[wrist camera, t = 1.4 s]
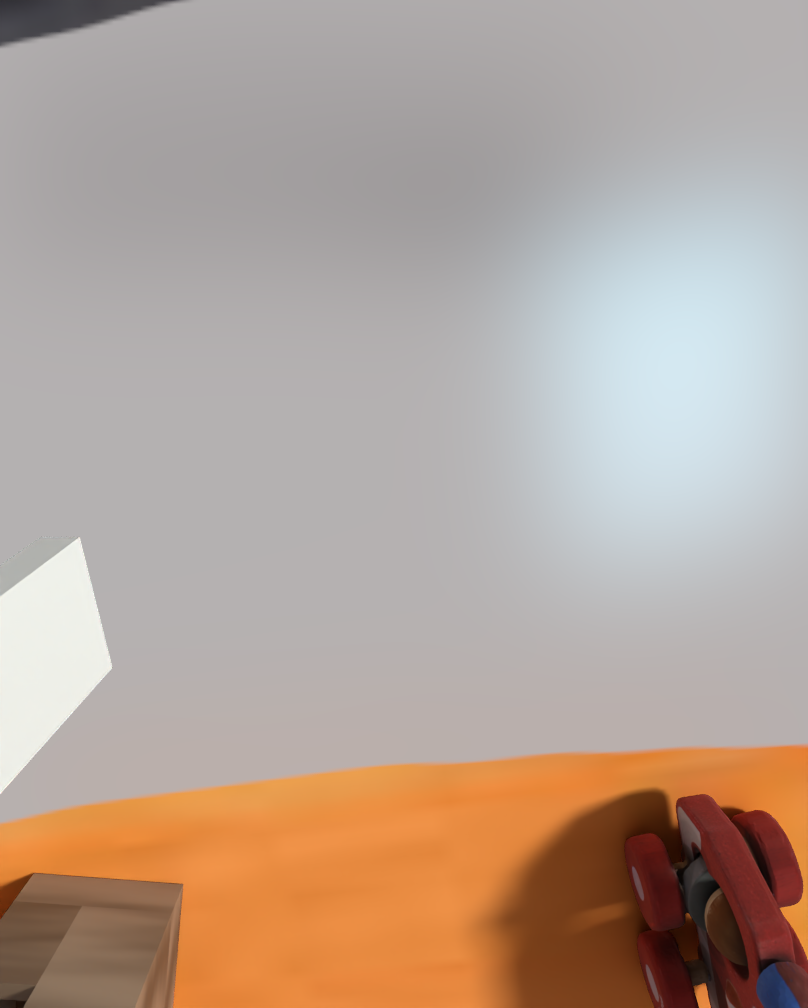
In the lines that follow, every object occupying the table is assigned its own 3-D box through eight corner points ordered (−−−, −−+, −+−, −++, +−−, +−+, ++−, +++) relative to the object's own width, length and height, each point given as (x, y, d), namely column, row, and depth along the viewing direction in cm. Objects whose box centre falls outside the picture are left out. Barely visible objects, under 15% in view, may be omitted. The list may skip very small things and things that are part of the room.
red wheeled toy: (748, 759, 36) (901, 900, 26) (777, 983, 38) (930, 1201, 27) (609, 786, 36) (706, 939, 26) (644, 1011, 38) (748, 1239, 27)
